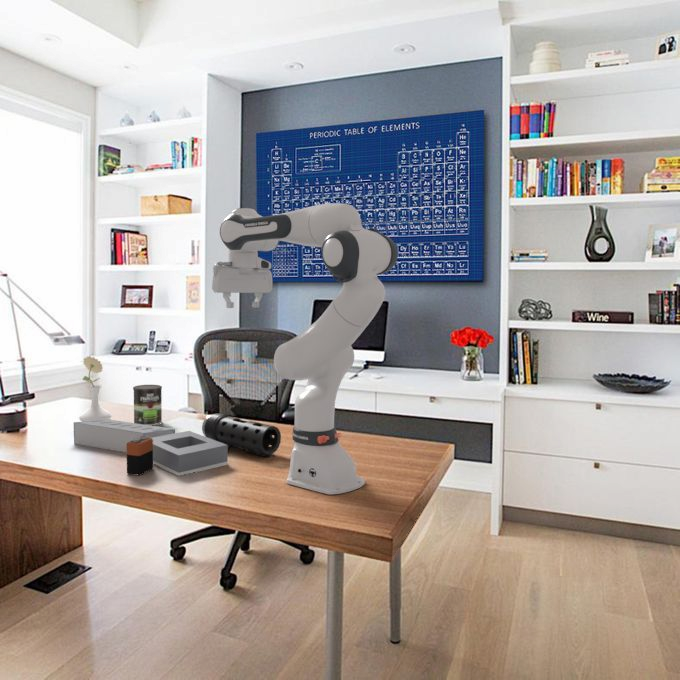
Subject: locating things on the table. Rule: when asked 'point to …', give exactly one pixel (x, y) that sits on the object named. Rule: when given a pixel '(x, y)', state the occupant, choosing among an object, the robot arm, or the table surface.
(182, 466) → the dock
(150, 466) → the battery
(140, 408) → the coffee can
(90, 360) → the flower in vase
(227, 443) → the muzzle brake
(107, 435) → the white slatted block
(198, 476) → the table surface
